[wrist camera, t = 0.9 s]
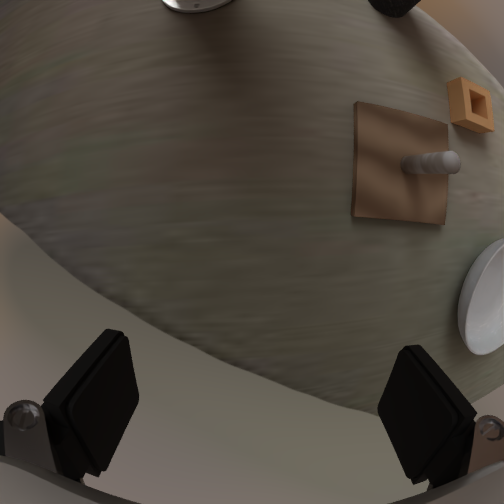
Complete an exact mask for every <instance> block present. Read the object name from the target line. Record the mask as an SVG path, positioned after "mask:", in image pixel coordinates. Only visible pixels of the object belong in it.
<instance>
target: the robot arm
mask: <svg viewBox="0 0 504 504" xmlns="http://www.w3.org/2000/svg"><path fill="white" fill-rule="evenodd" d="M230 1H232V0H163V2H164V3H165V5H166V6H167V7H169V8H170V9H172V10H175V11H178V12H183V13H198V12H204V11H209V10H213V9H216V8H218V7H221V6H223V5H225V4H227V3H229V2H230ZM43 401H44V403H43V404H42V405H41V406H40V405H39V404H37V403H35V402H34V401H30V400H21V401H17V402H15V403H13V404H11V405H10V406H9V407H8V408H7V409H6V411H5V413H4V417H3V420H2V421H0V504H140V503H136V502H133V501H130V500H126V499H123V498H120V497H117V496H113V495H110V494H107V493H104V492H102V491H99V490H96V489H93V488H91V487H88V486H86V485H85V483H84V481H83V477H84V475H85V473H88V474H91V475H93V476H96V477H99V475H100V473H101V471H106V470H107V468H108V466H109V464H110V462H111V459H112V457H113V455H114V453H115V450H116V448H117V446H118V444H119V442H120V440H121V438H122V436H123V434H124V431H125V429H126V427H127V425H128V423H129V421H130V419H131V417H132V415H133V413H134V411H135V409H136V407H137V405H138V402H139V392H138V387H137V383H136V378H135V373H134V368H133V362H132V357H131V351H130V345H129V340H128V337H126V336H124V333H123V332H121V331H117V330H111V329H106V330H105V331H104V332H103V333H102V334H101V335H100V336H99V337H98V338H97V339H96V340H95V341H94V342H93V343H92V345H91V346H90V347H89V348H88V349H87V350H86V351H85V352H84V353H83V354H82V356H81V357H80V358H79V359H78V360H77V361H76V362H75V363H74V364H73V366H72V367H71V368H70V369H69V370H68V371H67V372H66V374H65V375H64V376H63V377H62V378H61V379H60V380H59V382H58V383H57V384H56V385H55V386H54V387H53V389H52V390H51V391H50V392H49V393H48V395H47V396H46V397H45V398H44V399H43ZM378 414H379V416H380V418H381V420H382V423H383V425H384V427H385V429H386V431H387V433H388V436H389V438H390V440H391V442H392V445H393V447H394V449H395V451H396V454H397V456H398V458H399V461H400V463H401V465H402V468H403V470H404V472H405V475H406V476H407V478H409V479H411V481H412V483H413V485H414V484H417V483H420V482H423V481H425V480H427V479H428V480H429V482H430V483H429V485H428V488H427V491H426V492H424V493H421V494H418V495H415V496H413V497H409V498H406V499H403V500H400V501H396V502H393V503H389V504H504V422H503V421H502V420H501V419H499V418H498V417H495V416H493V415H485V416H482V417H480V418H479V419H478V420H477V421H476V422H475V421H474V420H473V419H474V417H475V416H476V414H477V412H476V411H475V409H474V408H473V407H472V406H471V404H470V403H469V402H468V400H467V399H466V398H465V397H464V396H463V394H462V393H461V392H460V391H459V389H458V388H457V387H456V386H455V385H454V383H453V382H452V381H451V380H450V379H449V377H448V376H447V375H446V374H445V373H444V372H443V370H442V369H441V368H440V367H439V366H438V365H437V363H436V362H435V361H434V360H433V359H432V358H431V357H430V355H429V354H428V353H427V352H426V351H425V350H424V349H423V348H422V346H420V345H409V346H405V347H404V348H403V349H402V350H401V351H400V352H399V353H398V356H397V359H396V361H395V364H394V367H393V370H392V372H391V375H390V377H389V380H388V382H387V385H386V387H385V390H384V392H383V395H382V397H381V399H380V402H379V404H378Z"/></svg>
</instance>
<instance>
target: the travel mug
mask: <svg viewBox="0 0 504 504" xmlns="http://www.w3.org/2000/svg"><path fill="white" fill-rule="evenodd" d="M368 1H369V2H370V3H371V5H372V6H373V7H374V8H375V9H377V10H378V11H380V12H381V13H383V14H385V15H387V16H390V17H395V18H398V17H402V16H404V15H405V14H406V13H407V12H408V11H409V10H411V9H412V8H413V7H414V6H415V5H416V4H417V3H418V2H420V1H421V0H368Z"/></svg>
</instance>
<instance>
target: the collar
mask: <svg viewBox="0 0 504 504" xmlns="http://www.w3.org/2000/svg"><path fill="white" fill-rule="evenodd" d="M447 89H448V97H449V106H450V118H451V123H453V124H456V125H459V126H462V127H464V128H467V129H470V130H472V131H475V132H477V133H486V132H493V131H494V121H493V112H492V104H491V97H490V91H488V90H486V89H484V88H482V87H481V86H479V85H477V84H475V83H473V82H471V81H469V80H467V79H465V78H462V77H459V78H457V79H454V80H452V81H450V82H448V83H447ZM471 107H472V108H471Z"/></svg>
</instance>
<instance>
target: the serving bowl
mask: <svg viewBox="0 0 504 504" xmlns="http://www.w3.org/2000/svg"><path fill="white" fill-rule="evenodd" d="M457 317H458V327H459V332H460V335H461V337H462V339H463V341H464V343H465V345H466V346H467V348H468V349H469V350H470V351H471V352H472V353H474V354H476V355H485V354H488V353H491V352H493V351H495V350H496V349H498V348H499V347H500V346H502V345H503V344H504V238H503V239H500V240H497V241H495V242H493V243H492V244H490V245H489V246H488V247H487V248H486V249H484V250H483V251H482V253H481V254H480V255H479V256H478V257H477V259H476V260H475V262H474V263H473V265H472V266H471V268H470V270H469V272H468V274H467V276H466V278H465V281H464V283H463V286H462V289H461V293H460V297H459V303H458V314H457Z"/></svg>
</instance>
